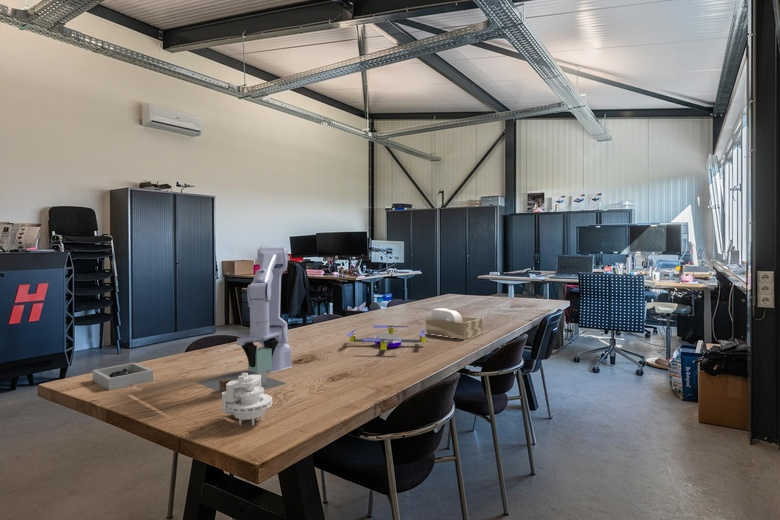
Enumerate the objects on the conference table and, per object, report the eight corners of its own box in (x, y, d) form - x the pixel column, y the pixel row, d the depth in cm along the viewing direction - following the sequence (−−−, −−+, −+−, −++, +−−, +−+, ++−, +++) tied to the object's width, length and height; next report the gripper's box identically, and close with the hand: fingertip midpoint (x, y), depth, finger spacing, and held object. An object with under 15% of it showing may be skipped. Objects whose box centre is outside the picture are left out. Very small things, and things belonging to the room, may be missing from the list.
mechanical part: (253, 432, 106) (252, 383, 105) (213, 425, 110) (212, 378, 110) (281, 415, 116) (281, 370, 116) (244, 410, 120) (243, 366, 120)
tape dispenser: (432, 334, 225) (432, 309, 225) (446, 331, 232) (446, 307, 232) (455, 338, 213) (455, 312, 213) (470, 335, 220) (470, 310, 219)
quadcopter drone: (357, 334, 217) (357, 324, 216) (426, 335, 213) (426, 325, 213) (342, 350, 183) (342, 338, 183) (424, 352, 180) (424, 339, 179)
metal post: (262, 384, 141) (261, 368, 141) (266, 385, 140) (266, 370, 140) (254, 386, 140) (254, 370, 139) (259, 387, 138) (259, 371, 138)
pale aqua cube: (262, 367, 143) (262, 346, 143) (272, 369, 140) (271, 348, 140) (248, 370, 139) (247, 349, 139) (257, 373, 136) (256, 351, 136)
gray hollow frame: (135, 372, 159) (134, 362, 159) (153, 380, 149) (152, 370, 149) (92, 380, 149) (92, 370, 149) (109, 390, 139) (108, 379, 139)
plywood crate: (445, 329, 236) (445, 314, 236) (482, 334, 222) (482, 318, 221) (426, 334, 223) (426, 318, 223) (464, 340, 209) (464, 323, 209)
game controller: (108, 376, 152) (122, 362, 154) (121, 385, 154) (135, 372, 155) (103, 384, 143) (118, 369, 145) (117, 394, 145) (131, 379, 147)
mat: (246, 372, 158) (246, 370, 158) (287, 385, 142) (287, 383, 142) (196, 384, 145) (196, 382, 145) (235, 399, 129) (235, 397, 129)
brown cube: (227, 388, 138) (227, 378, 138) (231, 389, 136) (231, 380, 136) (219, 390, 136) (219, 380, 136) (223, 391, 134) (223, 382, 134)
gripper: (245, 325, 131) (246, 371, 131) (286, 319, 142) (287, 362, 142) (233, 323, 136) (233, 367, 136) (273, 317, 147) (274, 358, 147)
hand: (260, 364), depth 139 cm, fingers closed on pale aqua cube, 5 cm apart
